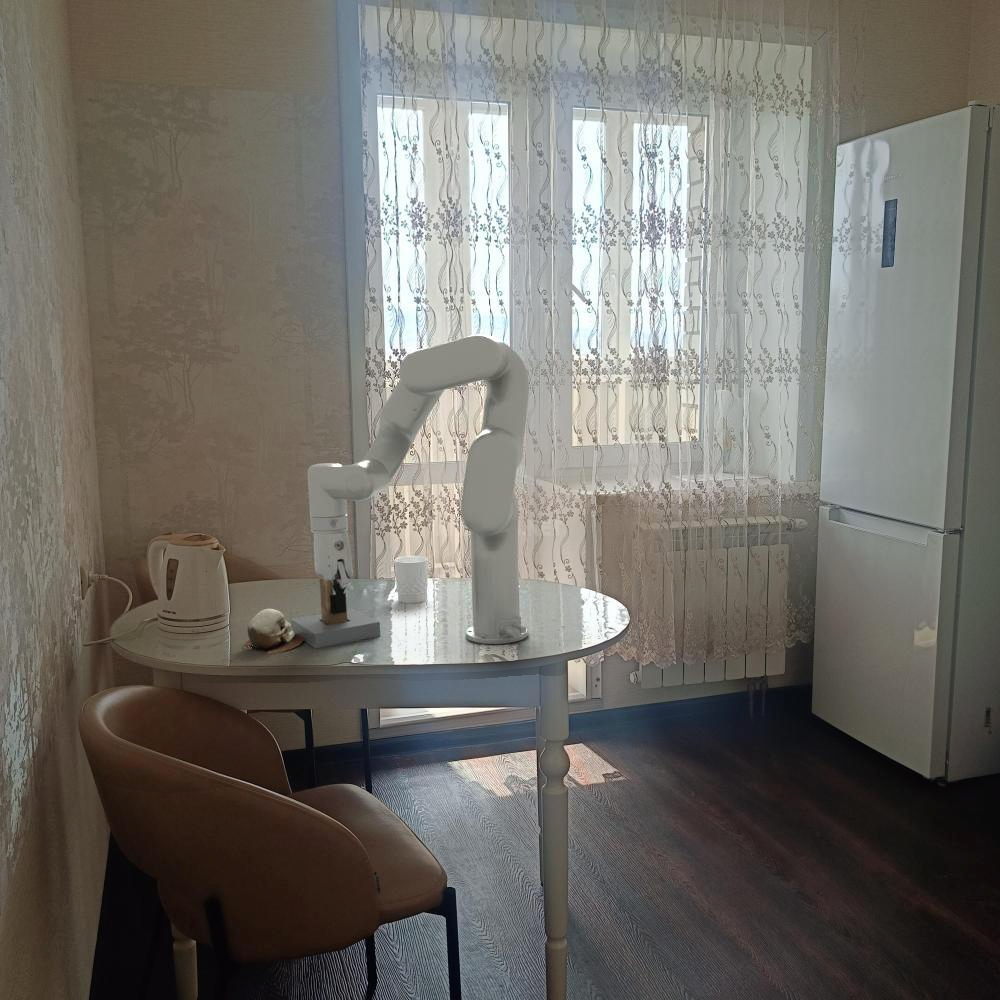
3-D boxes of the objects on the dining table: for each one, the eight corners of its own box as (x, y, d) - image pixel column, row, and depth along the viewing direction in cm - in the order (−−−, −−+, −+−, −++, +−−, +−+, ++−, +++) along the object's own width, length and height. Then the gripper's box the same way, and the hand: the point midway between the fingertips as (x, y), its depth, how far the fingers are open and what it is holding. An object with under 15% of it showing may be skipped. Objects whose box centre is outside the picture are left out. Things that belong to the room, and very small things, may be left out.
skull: (272, 628, 192) (293, 596, 187) (298, 666, 189) (320, 635, 184) (225, 640, 183) (246, 607, 178) (252, 680, 179) (273, 648, 174)
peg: (347, 630, 189) (344, 573, 187) (329, 633, 186) (326, 576, 185) (340, 626, 192) (337, 570, 190) (322, 629, 190) (319, 573, 188)
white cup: (407, 595, 222) (405, 555, 220) (435, 597, 218) (433, 556, 217) (389, 602, 215) (387, 561, 213) (418, 605, 211) (416, 563, 210)
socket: (380, 636, 187) (379, 621, 187) (315, 648, 180) (314, 633, 179) (353, 621, 199) (352, 608, 198) (291, 632, 192) (290, 618, 191)
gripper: (362, 526, 181) (367, 616, 184) (331, 517, 195) (336, 600, 198) (327, 531, 177) (332, 622, 180) (297, 521, 191) (303, 605, 194)
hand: (334, 609), depth 189 cm, fingers closed on peg, 3 cm apart
